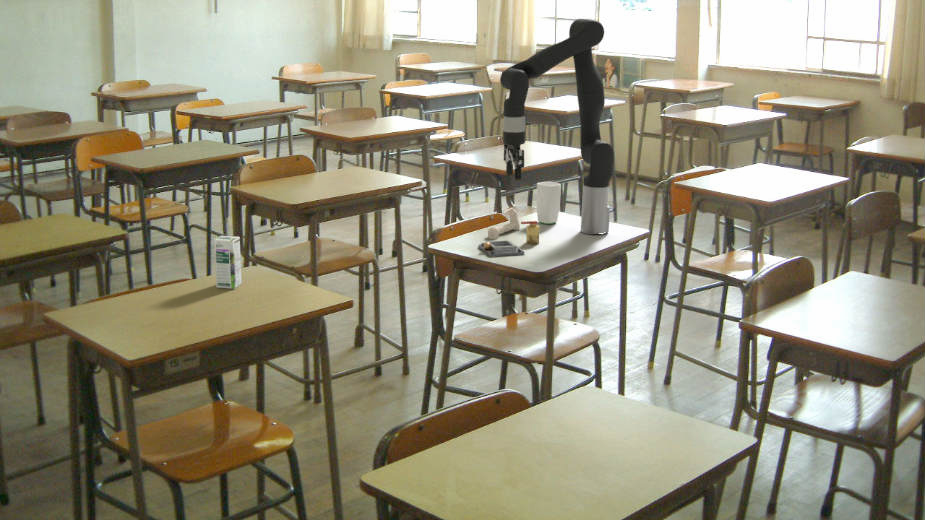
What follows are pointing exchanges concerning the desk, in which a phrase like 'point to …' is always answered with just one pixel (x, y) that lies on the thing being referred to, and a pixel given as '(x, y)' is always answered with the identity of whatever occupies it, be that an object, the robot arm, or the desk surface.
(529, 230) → the valve
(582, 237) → the desk surface
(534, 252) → the desk surface
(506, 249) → the grey compartment tray
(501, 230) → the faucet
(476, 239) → the desk surface
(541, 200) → the cup
